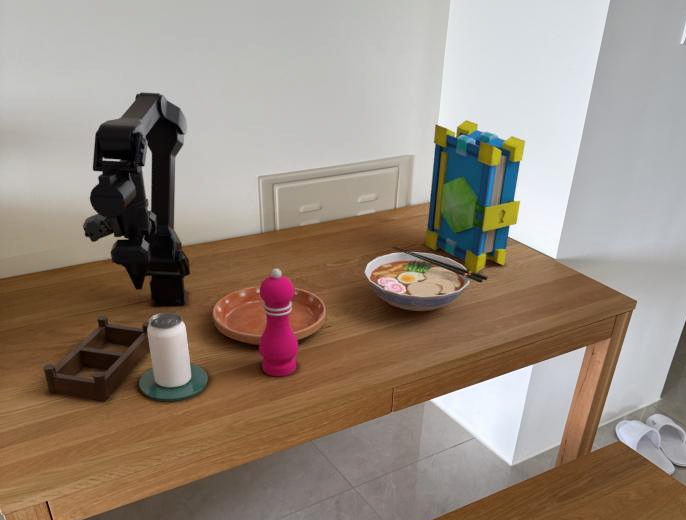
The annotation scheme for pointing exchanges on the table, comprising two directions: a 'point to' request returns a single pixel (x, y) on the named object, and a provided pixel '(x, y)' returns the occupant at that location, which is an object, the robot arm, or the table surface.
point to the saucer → (250, 319)
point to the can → (169, 350)
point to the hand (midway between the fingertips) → (141, 278)
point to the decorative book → (473, 194)
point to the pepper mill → (278, 326)
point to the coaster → (174, 394)
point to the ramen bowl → (418, 279)
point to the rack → (99, 361)
